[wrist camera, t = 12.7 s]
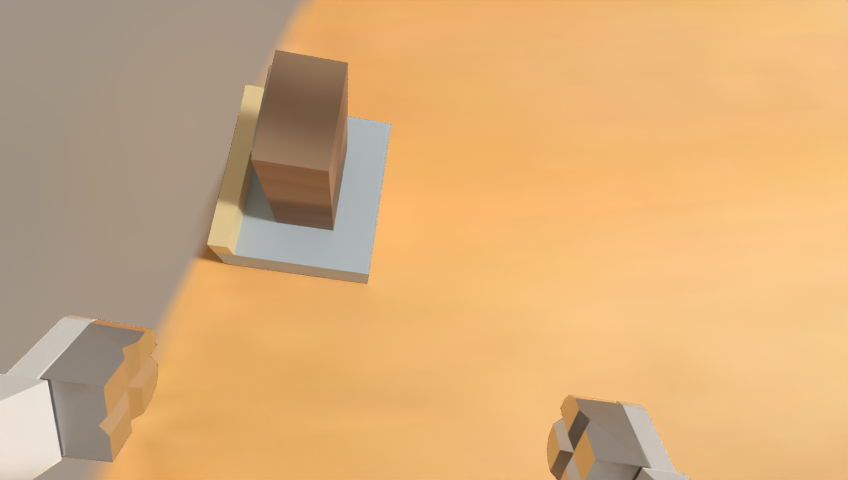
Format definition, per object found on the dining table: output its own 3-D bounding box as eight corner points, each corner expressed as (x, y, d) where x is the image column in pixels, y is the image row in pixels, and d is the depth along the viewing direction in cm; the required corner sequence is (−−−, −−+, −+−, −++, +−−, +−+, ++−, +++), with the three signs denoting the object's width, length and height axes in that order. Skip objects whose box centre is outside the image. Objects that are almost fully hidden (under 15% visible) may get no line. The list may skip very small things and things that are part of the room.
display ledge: (367, 283, 30) (370, 268, 27) (224, 263, 30) (206, 244, 26) (387, 143, 33) (393, 110, 29) (257, 121, 32) (246, 84, 28)
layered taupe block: (333, 230, 28) (328, 171, 21) (272, 221, 28) (244, 158, 20) (347, 146, 30) (347, 62, 22) (289, 137, 30) (269, 49, 22)
